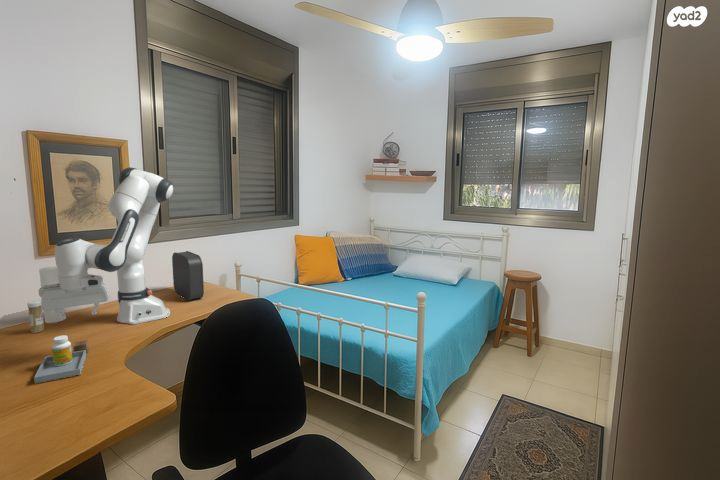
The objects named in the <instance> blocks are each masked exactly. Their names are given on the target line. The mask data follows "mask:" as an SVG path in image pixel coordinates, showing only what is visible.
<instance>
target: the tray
mask: <svg viewBox="0 0 720 480" xmlns="http://www.w3.org/2000/svg"><path fill="white" fill-rule="evenodd" d="M87 355H88V354H86V350H83V351H77V352H74V351H72V362H71V363H69V364H66V365H63V366H55V365H54V363H53V355H48V356H45V357H44V358H43V360H42V361H41V363H40V365H39V368H38V369H37V372H36V373H35V375H34V377H33V380H34V384H35V383H39V384H41V383H40V382H44V381H50V380H55V379H60V378H64V377H69V376H74V375H79V374H81V375H82V372H83V369H84V366H83V364H84V365H85V362H84V361H86V359H87ZM82 368H83V369H82ZM81 371H82V372H81ZM60 380H61V379H60ZM55 381H56V380H55ZM50 382H51V381H50Z"/></svg>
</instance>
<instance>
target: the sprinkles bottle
mask: <svg viewBox="0 0 720 480" xmlns="http://www.w3.org/2000/svg"><path fill="white" fill-rule="evenodd" d="M27 308H28V309H27V310H28V318H29V325H30V333H33V334H38V333H41V332H43V331H45V326H44V317H43V316H44V315H43V314H44V313H43V309H42V305H41V300H39V299H37V300H32V301H31V300H30V301H28V302H27Z"/></svg>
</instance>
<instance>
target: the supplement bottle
mask: <svg viewBox="0 0 720 480" xmlns="http://www.w3.org/2000/svg"><path fill="white" fill-rule="evenodd" d="M51 352H52V356H53V363H54V365H55V366H63V365H66V364H69V363H71V362H72V352H73V350H72V343H71V341H69V337H68V335H66V334H65V335H58V336H55V337H54V338H53V344H52V345H51Z"/></svg>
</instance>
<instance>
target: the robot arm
mask: <svg viewBox="0 0 720 480" xmlns="http://www.w3.org/2000/svg"><path fill="white" fill-rule="evenodd" d="M118 176H119V177H118V183H119V185H118V186H117V188H116V190H115V191H114V193H113V194H112V196H111V197H110V198H109V199H110V200H109V202H108V207H107V208H108V210H109V213H110V214H111V215H112V217H114V218H115V219H116V220H117V223H118V224H117V226H116V229H115V231H114V233H113V235H112V238H111V240H110V241H109V242H108V243H106V244H102V243H95V242H90V241H87V240H84V239H81V238H80V237H69V238H64V239H61V240H60V241H58V242H57V243H56V244H55V247H54V259H55V265H56V266H55V267H58V281H59V284H53V285H45V286H43V287H41V286H40V287H39V289H38V295H39V297H40V298H41V300H40V301H41V308H42V311H43V312H44V311H49V310H55V312H56V313H57V314H58V315H59V316H60V319H61V320H63V321H64V320H66V319H67V316H66V313H64V314H62V313H61V312H60V310H61V309H62V308H64V309H67V308H72V307H80V306H86V305H87V306H88V305H93V306H94V308H93V309H91V312H90V313H91V315H92V316H93V315H94V316H95V315H97V313H98V311H97V309H98V308H99V306H100V303H106V302H108V301H109V300H110V295H109V290H108V286H107V285H106V283H105V282H104V278H103V276H102V275H96V274H91V273H89V272H88V271H89V269H97V270H101V271H105V272H108V273H113V272H116V273H117V274H116V275H117V287H118V291H117V301H118V314H117V317H116V321H117V322H118V323H122V324H130V325H137V324H142V323H147V322H153V321H157V320H161V319H165V318H166V317H167V318H168V317H170V315H171V310H170V308H168V307H166V306H165V303H164V301H163V300H162V299H160V298H159V297H157V296H154V295H152V294H153V292H152V290H151V288H150V287H146V274H145V273H146V272H145V266H144V256H145V254H146V253H145V252H146V250H147V247H148V243H149V239H150V236H151V232H152V229H153V226H154V224H155V222H156V219H157V217H158V213H159V209H160V205H161V203H162V202H166V201H167V200H169V199H170V198H171V197H172V195H173V193H174V183H173V182H172V181H171V180H169V179H168V178H166V177H162V176H161V175H158V174H155V173H153V172H148V171H145V170H142V169H141V170H140V169H137V167H125V168H124V169H122V170H121V172H120V174H119V175H118ZM42 288H43V289H42Z"/></svg>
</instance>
